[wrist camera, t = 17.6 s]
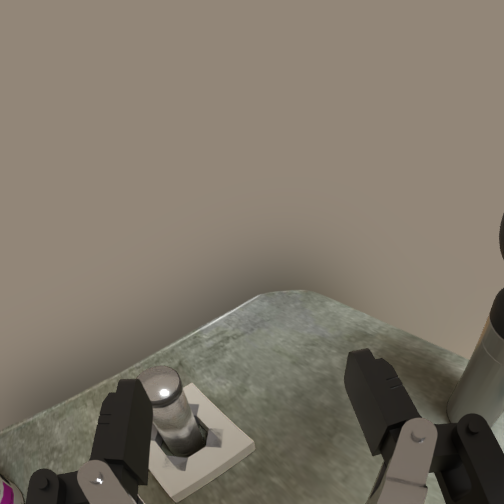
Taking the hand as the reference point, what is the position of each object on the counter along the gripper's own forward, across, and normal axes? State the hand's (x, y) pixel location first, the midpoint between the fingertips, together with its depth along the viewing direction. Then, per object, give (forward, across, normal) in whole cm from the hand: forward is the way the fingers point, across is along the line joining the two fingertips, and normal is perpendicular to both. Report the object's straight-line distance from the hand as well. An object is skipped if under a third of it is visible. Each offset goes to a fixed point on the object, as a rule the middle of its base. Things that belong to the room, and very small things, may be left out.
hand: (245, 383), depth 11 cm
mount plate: (+14, +10, +30) cm, 35 cm away
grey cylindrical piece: (+14, +10, +30) cm, 35 cm away
